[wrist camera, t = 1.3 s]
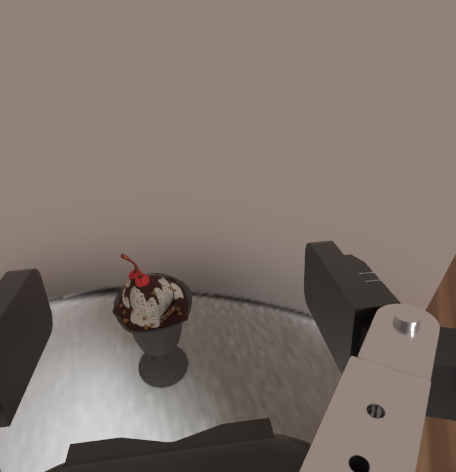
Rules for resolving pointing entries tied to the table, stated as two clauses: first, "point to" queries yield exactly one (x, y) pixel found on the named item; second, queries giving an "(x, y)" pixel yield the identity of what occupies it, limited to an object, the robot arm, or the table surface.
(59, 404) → the table surface
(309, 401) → the table surface
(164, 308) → the sundae
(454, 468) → the stand
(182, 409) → the table surface
